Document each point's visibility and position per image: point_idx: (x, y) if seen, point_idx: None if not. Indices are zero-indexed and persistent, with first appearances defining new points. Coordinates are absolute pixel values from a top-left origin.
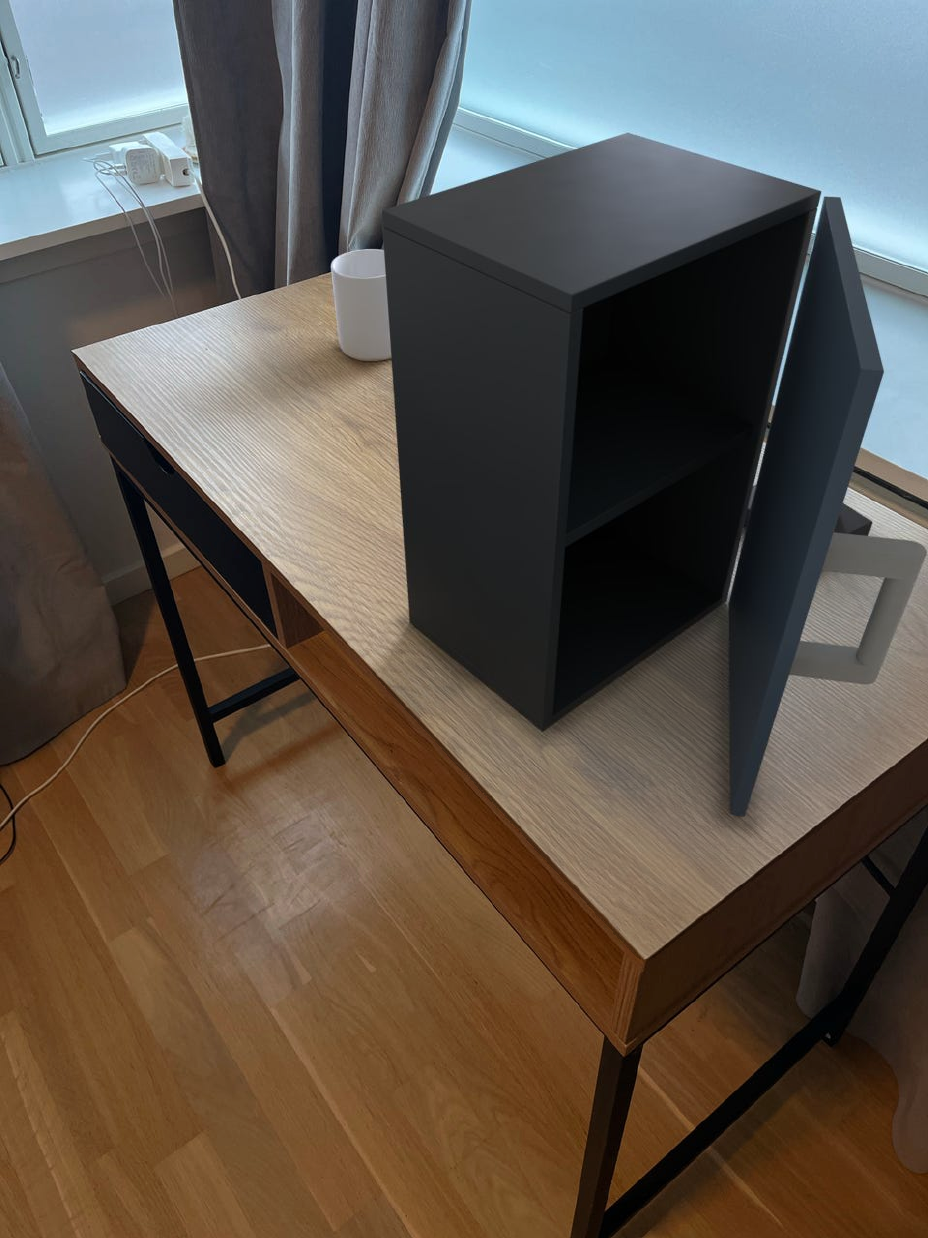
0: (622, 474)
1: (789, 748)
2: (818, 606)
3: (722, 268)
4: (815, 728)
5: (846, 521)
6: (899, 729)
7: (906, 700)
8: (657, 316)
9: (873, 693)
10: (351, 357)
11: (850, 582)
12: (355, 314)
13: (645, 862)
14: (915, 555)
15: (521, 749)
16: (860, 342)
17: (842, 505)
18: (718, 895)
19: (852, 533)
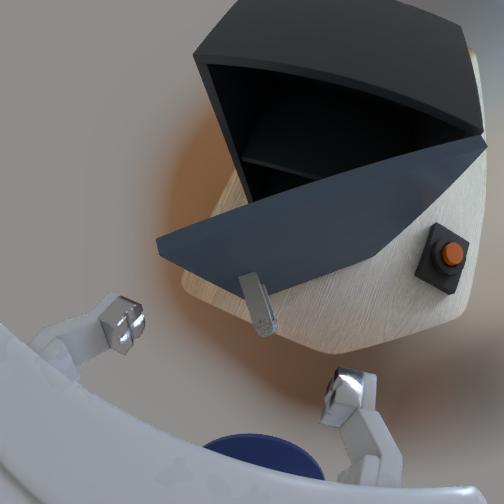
0: (313, 158)
1: (296, 307)
2: (394, 290)
3: (441, 121)
4: (314, 314)
5: (448, 281)
6: (332, 347)
7: (352, 345)
8: (425, 116)
9: (349, 331)
10: None
11: (418, 298)
12: None
13: None
14: (258, 331)
15: (238, 207)
16: (201, 225)
17: (458, 275)
18: (209, 303)
19: (443, 287)
